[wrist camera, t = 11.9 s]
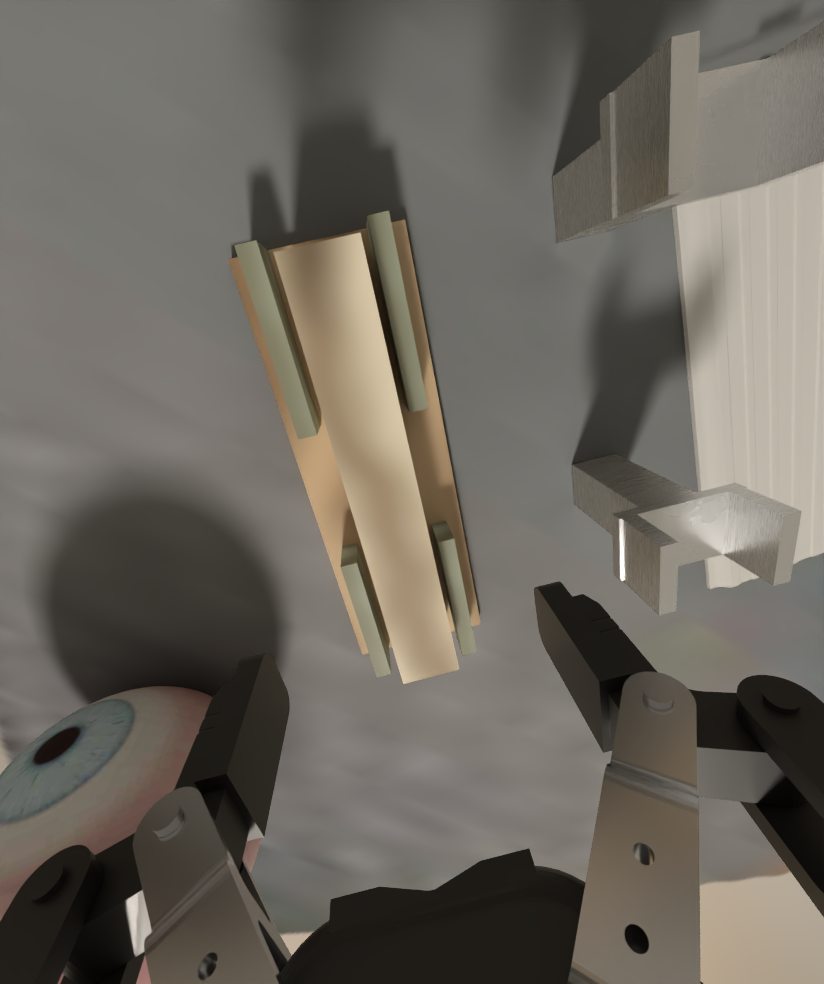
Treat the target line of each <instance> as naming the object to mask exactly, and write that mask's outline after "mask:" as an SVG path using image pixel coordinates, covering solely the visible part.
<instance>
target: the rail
mask: <svg viewBox="0 0 824 984" xmlns="http://www.w3.org/2000/svg"><path fill="white" fill-rule="evenodd" d="M273 253H274V256H275V259H276V262H277V266H278V269H279V272H280V276H281V279H282V282H283V286H284V289H285V292H286V296H287V299H288V302H289V306H290V309H291V312H292V316H293V319H294V322H295V326H296V329H297V332H298V335H299V339H300V342H301V345H302V349H303V352H304V355H305V359H306V362H307V365H308V369H309V372H310V375H311V379H312V382H313V385H314V389H315V392H316V395H317V399H318V402H319V405H320V408H321V412H322V415H323V418H324V422H325V425H326V428H327V432H328V435H329V438H330V442H331V445H332V448H333V452H334V455H335V458H336V462H337V465H338V468H339V472H340V475H341V478H342V482H343V485H344V488H345V491H346V495H347V498H348V501H349V505H350V508H351V511H352V515H353V518H354V521H355V525H356V528H357V531H358V535H359V538H360V541H361V545H362V548H363V551H364V555H365V558H366V561H367V564H368V568H369V571H370V574H371V578H372V581H373V584H374V588H375V591H376V594H377V598H378V601H379V604H380V608H381V611H382V614H383V618H384V621H385V624H386V628H387V631H388V634H389V637H390V641H391V644H392V647H393V651H394V654H395V657H396V661H397V664H398V667H399V671H400V674H401V677H402V681H403V684H405V683H409V682H413V681H417V680H421V679H424V678H428V677H432V676H436V675H440V674H444V673H447V672H451V671H455V670H459V665H458V661H457V657H456V652H455V648H454V643H453V639H452V635H451V630H450V626H449V621H448V617H447V612H446V608H445V604H444V599H443V595H442V590H441V586H440V582H439V577H438V573H437V568H436V564H435V559H434V555H433V551H432V546H431V542H430V537H429V533H428V529H427V524H426V520H425V515H424V511H423V506H422V502H421V498H420V493H419V489H418V484H417V480H416V476H415V471H414V467H413V462H412V458H411V453H410V449H409V445H408V440H407V436H406V431H405V427H404V423H403V418H402V414H401V409H400V405H399V400H398V396H397V392H396V387H395V383H394V378H393V374H392V370H391V365H390V361H389V356H388V352H387V347H386V343H385V339H384V334H383V330H382V325H381V321H380V317H379V312H378V308H377V303H376V299H375V294H374V290H373V286H372V281H371V277H370V272H369V268H368V264H367V259H366V255H365V250H364V246H363V241H362V237H361V233H356V234H351V235H347V236H342V237H338V238H334V239H329V240H325V241H320V242H316V243H312V244H307V245H303V246H298V247H294V248H289V249H285V250H281V251H276V252H273Z"/></svg>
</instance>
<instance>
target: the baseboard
mask: <svg viewBox="0 0 824 984" xmlns="http://www.w3.org/2000/svg"><path fill="white" fill-rule="evenodd" d="M672 212H673V223H674V233H675V244H676V255H677V266H678V276H679V287H680V298H681V309H682V320H683V330H684V341H685V352H686V363H687V373H688V384H689V395H690V406H691V416H692V427H693V438H694V449H695V460H696V470H697V481H698V492H700V491H704V490H708V489H712V488H716V487H720V486H724V485H728V484H732V483H738V484H740V485H743V486H745V487H746V488H747V489H749V490H752V491H754V492H757V493H759V494H762V495H764V496H767V497H769V498H771V499H774V500H776V501H779V502H781V503H784V504H786V505H789V506H791V507H793V508H796V509H798V510H801V511H802V513H801V519H800V525H799V531H798V537H797V543H796V549H795V555H794V561H793V564H795V563H797V562H798V561H800V560H802V559H805V558H808V557H813V556H816V555H818V554H821V553H824V165H821V166H818V167H815V168H813V169H810V170H807V171H804V172H801V173H799V174H796V175H793V176H790V177H787V178H784V179H782V180H779V181H777V182H774V183H771V184H768V185H766V186H762V187H758V188H753V189H749V190H744V191H740V192H736V193H731V194H727V195H723V196H718V197H714V198H709V199H705V200H701V201H696V202H692V203H688V204H683V205H679V206H674V207H672ZM705 567H706V578H707V587H708V588H709V589H712V588H715V587H730V588H732V587H735V586H737V585H740V583H742V582H745V581H748V580H750V579H756V578H758V576H757V575H755V574H753V573H752V572H750V571H748V570H747V569H745V568H744V567H742V566H740V565H739V564H737V563H736V562H734V561H732V560H731V559H729V558H727V557H726V556H724V555H719V556H716V557H712V558H708V559H705Z"/></svg>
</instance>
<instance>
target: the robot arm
mask: <svg viewBox="0 0 824 984" xmlns="http://www.w3.org/2000/svg"><path fill="white" fill-rule="evenodd" d="M534 596H535V604H536V612H537V620H538V628H539V633H540V636H541V639H542V642H543V645H544V647H545V649H546V651H547V653H548V654H549V656H550V658H551V660H552V662H553V663H554V665H555V667H556V669H557V671H558V672H559V674H560V676H561V678H562V679H563V681H564V683H565V685H566V687H567V688H568V690H569V692H570V694H571V696H572V697H573V699H574V701H575V703H576V705H577V706H578V708H579V710H580V712H581V713H582V715H583V717H584V719H585V721H586V722H587V724H588V726H589V728H590V730H591V731H592V733H593V735H594V737H595V738H596V740H597V742H598V744H599V746H600V747H601V749H602V751H603V753H604V752H608V751H612V757H611V761H610V764H607V766H606V769H605V773H604V778H603V784H602V790H601V795H600V801H599V807H598V813H597V819H596V824H595V830H594V836H593V842H592V848H591V854H590V859H589V865H588V871H587V877H586V883H585V882H584V881H582V880H580V879H578V878H576V877H574V876H572V875H570V874H568V873H565V872H562V871H560V870H557V869H552V868H548V867H542V866H534V862H533V859H532V856H531V853H530V850H529V849H525V850H521V851H517V852H514V853H510V854H506V855H502V856H498V857H494V858H490V859H486V860H482V861H480V862H478V863H477V864H475V865H473V866H472V867H470V868H469V869H467V870H465V871H464V872H462V873H461V874H459V875H458V876H456V877H454V878H453V879H451V880H450V881H448V882H446V883H445V884H443V885H442V886H440V887H438V888H437V889H435V890H431V891H423V890H411V889H400V888H388V887H377V888H373V889H369V890H365V891H361V892H358V893H354V894H350V895H346V896H342V897H338V898H334V899H331V904H330V920H329V921H328V922H326V923H324V924H323V925H322V926H321V927H319V928H318V929H317V930H316V931H315V932H313V933H312V934H311V935H310V936H309V937H308V938H307V939H306V940H305V941H304V943H302V944H301V945H300V947H299V948H298V949H297V950H296V952H295V953H294V954H293V955H292V956H291V954H290V952H289V950H288V948H287V947H286V945H285V943H284V941H283V940H282V938H281V936H280V934H279V932H278V930H277V928H276V926H275V924H274V922H273V920H272V918H271V915H270V913H269V911H268V909H267V907H266V905H265V903H264V901H263V898H262V896H261V894H260V892H259V890H258V888H257V886H256V884H255V882H254V879H253V877H252V875H251V873H250V871H249V869H248V867H247V865H246V863H245V861H244V860H243V855H244V851H245V846H246V842H247V841H250V840H254V839H258V838H262V837H264V835H265V830H266V825H267V820H268V815H269V810H270V805H271V800H272V795H273V790H274V785H275V780H276V775H277V770H278V765H279V760H280V755H281V750H282V745H283V740H284V735H285V730H286V725H287V720H288V715H289V696H288V692H287V689H286V686H285V684H284V682H283V680H282V678H281V676H280V673H279V671H278V669H277V667H276V665H275V662H274V660H273V658H272V656H271V655H270V654H269V653H264V654H260V655H256V656H252V657H248V658H244V659H242V660H241V661H240V662H239V664H238V667H237V669H236V672H235V675H234V677H233V680H231V681H227V682H225V683H224V684H223V685H222V687H221V688H220V689H219V690H218V692H217V693H216V694H215V695H214V697H213V698H212V700H211V702H210V704H209V707H208V709H207V712H206V714H205V719H203V721H202V724H201V726H200V728H199V734H197V736H196V738H195V740H194V743H193V745H192V748H191V750H190V752H189V755H188V757H187V760H186V762H185V764H184V767H183V769H182V772H181V774H180V776H179V779H178V781H177V784H176V786H175V788H174V790H173V791H172V792H170V793H168V794H167V795H165V796H164V797H162V798H161V799H160V800H159V801H157V802H156V803H155V804H154V805H153V806H152V807H151V808H150V809H149V811H148V812H147V813H146V814H145V816H144V817H143V819H142V820H141V822H140V823H139V825H138V827H137V829H136V832H135V833H133V834H132V835H130V836H128V837H126V838H125V839H123V840H121V841H119V842H118V843H116V844H114V845H112V846H110V847H109V848H107V849H105V850H103V851H102V852H100V853H98V854H96V855H94V854H93V853H92V852H91V851H90V850H89V849H88V848H87V847H86V846H84V845H74V846H70V847H68V848H65V849H63V850H61V851H59V852H58V853H56V854H55V855H53V856H52V857H50V858H49V859H48V860H46V861H45V862H44V863H43V864H42V865H40V866H39V867H38V868H37V869H36V870H35V871H34V872H33V873H32V874H31V875H30V877H29V878H28V879H27V880H26V881H25V882H24V884H23V885H22V886H21V888H20V889H19V891H18V892H17V894H16V895H15V897H14V899H13V900H12V902H11V904H10V905H9V907H8V909H7V911H6V912H5V914H4V916H3V918H2V919H1V921H0V984H58V982H59V979H60V977H61V975H62V974H64V976H63V979H62V981H61V983H60V984H136V982H137V979H138V976H139V973H140V969H141V966H142V963H143V960H144V957H146V962H147V967H148V972H149V976H150V981H151V984H703V983H702V982H701V981H700V895H699V894H700V892H699V887H700V884H699V800H698V797H704V798H713V799H722V800H731V801H740V802H741V804H742V805H743V806H744V808H745V809H746V810H747V812H748V813H749V815H750V816H751V817H752V819H753V820H754V822H755V823H756V824H757V826H758V827H759V828H760V830H761V831H762V833H763V834H764V835H765V837H766V838H767V839H768V841H769V842H770V844H771V845H772V846H773V848H774V849H775V851H776V852H777V853H778V855H779V856H780V857H781V859H782V860H783V862H784V863H785V864H786V866H787V867H788V868H789V870H790V871H791V873H792V874H793V875H794V877H795V878H796V880H797V881H798V882H799V883H800V885H801V886H802V888H803V889H804V890H805V892H806V893H807V895H808V896H809V897H810V899H811V900H812V902H813V903H814V904H815V906H816V907H817V909H818V910H819V911H820V913H821V914H822V915H823V916H824V703H823V702H821V701H820V700H819V699H818V698H817V697H816V696H815V695H813V694H812V693H811V692H810V691H808V690H806V689H805V688H803V687H802V686H800V685H798V684H796V683H794V682H791V681H789V680H786V679H783V678H779V677H775V676H768V675H755V676H750V677H747V678H745V679H744V680H742V681H741V682H740V684H739V685H738V689H737V693H723V692H702V691H695V690H690V689H688V688H687V687H686V686H685V685H683V684H682V683H681V682H679V681H678V680H676V679H674V678H673V677H670V676H668V675H665V674H662V673H658V672H657V671H656V670H655V669H654V668H653V666H652V665H651V664H650V663H649V662H648V661H647V659H646V658H645V657H644V656H643V655H642V653H641V652H640V651H639V650H638V649H637V648H636V646H635V645H634V644H633V643H632V642H631V641H630V639H629V638H628V637H627V636H626V635H625V633H624V632H623V631H622V630H620V629H619V626H618V625H617V624H616V623H615V622H614V620H613V619H611V618H610V616H609V615H608V613H607V612H606V611H605V610H604V609H603V607H602V606H601V605H600V604H599V603H597V602H596V601H594V600H592V599H590V598H589V597H587V596H585V595H583V594H582V595H578V596H574V597H572V596H571V595H570V593H569V592H568V591H567V589H566V588H565V587H564V586H563V584H562V583H561V582H555V583H551V584H547V585H543V586H539V587H535V588H534Z"/></svg>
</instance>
